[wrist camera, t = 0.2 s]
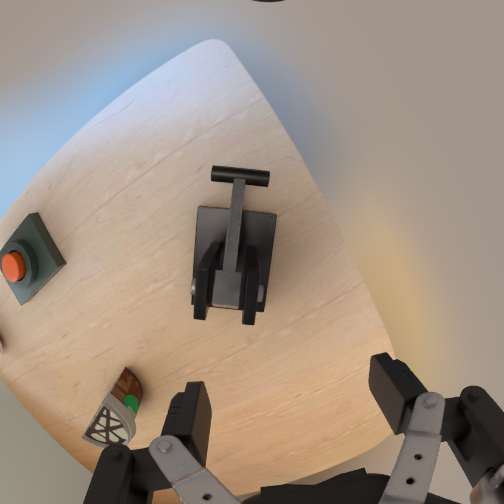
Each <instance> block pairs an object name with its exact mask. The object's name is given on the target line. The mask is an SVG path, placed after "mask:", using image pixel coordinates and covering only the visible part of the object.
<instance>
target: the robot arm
mask: <svg viewBox="0 0 504 504" xmlns="http://www.w3.org/2000/svg"><path fill="white" fill-rule="evenodd" d="M369 388H370V391H371V393H372V395H373V396H374V398H375V400H376V402H377V403H378V405H379V407H380V409H381V410H382V412H383V414H384V416H385V418H386V419H387V421H388V423H389V425H390V426H391V428H392V430H393V432H394V434H395V435H398V434H400V433H404V434H405V439H404V442H403V445H402V448H401V450H400V453H399V456H398V459H397V461H396V464H395V466H394V469H393V471H392V474H391V476H388V475H384V474H376V473H369V474H367V473H366V471H365V468H361V469H358V470H354V471H351V472H347V473H343V474H339V475H337V476H335V477H332V478H330V479H328V480H326V481H323V482H321V483H318V484H316V485H295V484H284V485H276V486H267V487H261V493H260V494H257V495H254V496H252V497H250V498H248V499H246V500H244V501H242V502H240V501H239V500H238V499H237V498H236V497H235V496H234V495H233V494H232V493H231V492H230V491H229V490H228V489H227V488H226V487H225V486H224V485H223V484H222V483H221V482H220V481H219V480H218V479H217V478H216V477H215V476H214V475H213V474H212V473H211V472H210V471H209V470H208V469H207V468H206V467H205V466H206V458H207V449H208V441H209V433H210V425H211V417H212V410H211V404H210V401H209V397H208V394H207V391H206V387H205V384H204V382H203V381H198V382H187V385H186V388H185V392H178V393H177V394H176V395H175V396H174V397H173V399H172V400H171V403H170V407H169V410H168V415H167V416H166V419H165V423H164V426H163V429H162V433H161V436H160V437H158V438H156V439H154V440H153V441H152V442H151V443H150V445H149V447H147V448H142V449H136V450H130V449H129V448H128V447H127V446H126V445H124V444H120V443H116V444H111V445H109V446H107V447H106V448H105V449H104V450H103V451H102V453H101V455H100V458H99V461H98V463H97V466H96V469H95V471H94V474H93V477H92V480H91V483H90V485H89V488H88V491H87V494H86V497H85V500H84V503H83V504H152V498H153V492H154V491H157V490H163V489H169V488H173V489H174V491H175V492H176V493H177V495H178V496H179V497H180V499H181V500H182V501H183V503H184V504H460V503H457V502H454V501H451V500H448V499H445V498H443V497H440V496H437V495H435V494H432V493H429V492H428V489H429V486H430V483H431V479H432V476H433V472H434V468H435V464H436V460H437V456H438V452H439V447H440V443H441V442H444V441H447V443H448V445H449V446H450V448H451V450H452V451H453V453H454V455H455V457H456V458H457V460H458V462H459V464H460V465H461V467H462V469H463V471H464V473H465V474H466V476H467V478H468V480H469V482H470V484H471V486H472V487H473V490H472V491H471V493H470V502H471V504H504V412H503V411H502V409H501V408H500V407H499V406H498V405H497V404H496V402H494V400H493V399H492V398H491V397H490V396H489V394H488V393H487V392H486V391H485V390H484V389H483V388H481V387H479V386H468V387H466V388H464V389H463V390H462V392H461V395H460V397H454V398H446V399H444V398H443V397H442V396H441V395H440V394H438V393H435V392H428V391H427V389H426V388H425V387H424V386H423V384H422V383H421V382H420V381H419V379H418V378H417V377H416V376H415V375H414V373H413V372H412V371H411V370H410V368H409V367H408V366H407V365H406V364H405V363H404V362H402V361H400V360H398V359H396V360H393V359H392V358H391V357H390V356H389V354H388V353H387V352H385V353H381V354H377V355H373V356H371V360H370V371H369ZM203 467H204V468H203Z"/></svg>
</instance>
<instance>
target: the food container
mask: <svg viewBox="0 0 504 504" xmlns="http://www.w3.org/2000/svg"><path fill="white" fill-rule="evenodd" d="M142 395H143V391H142V387H141V384H140V382H139V381H138V379H137V378H136V376H135V375H134V374H133V373H132V372H131V371H130V370H128V369H127V368H126V367H125V369H124V370H123V372H122V373H121V375H120V376H119V378H118V379H117V381H116V382H115V384H114V385H113V387H112V388H111V390H110V391H109V393H108V394H107V396H106V397H105V399H104V401H103V402H102V404H101V406H100V407H99V409H98V411H97V412H96V414H95V416H94V417H93V419H92V421H91V423H90V424H89V426H88V428H87V430H86V431H85V433H84V435H83V437H82V439H84V440H85V441H87V442H89V443H91V444H93V445H96V446H98V447H102V448H106V447H107V446H109V445H111V444H116V443H120V444H124V445H126V444H128V443H129V442H130V440H131V439H132V438H133V437H134V435H135V433H136V424H135V417H136V414H137V411H138V408H139V405H140V402H141V398H142Z"/></svg>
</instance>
